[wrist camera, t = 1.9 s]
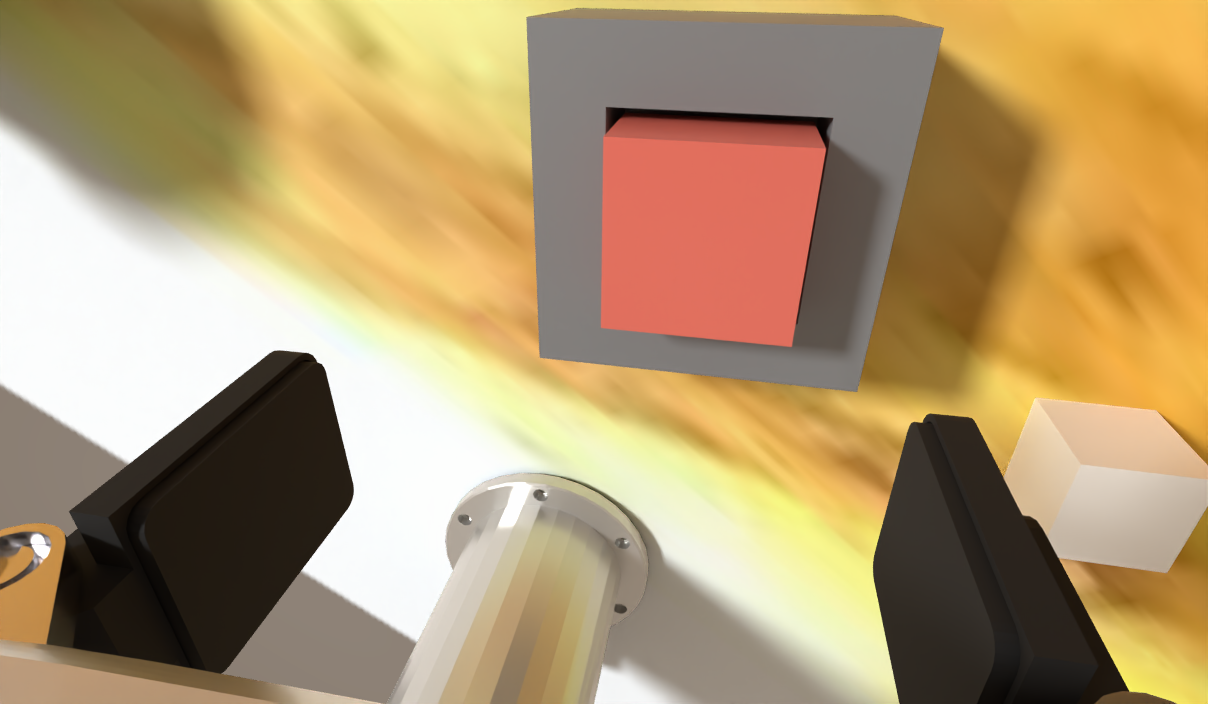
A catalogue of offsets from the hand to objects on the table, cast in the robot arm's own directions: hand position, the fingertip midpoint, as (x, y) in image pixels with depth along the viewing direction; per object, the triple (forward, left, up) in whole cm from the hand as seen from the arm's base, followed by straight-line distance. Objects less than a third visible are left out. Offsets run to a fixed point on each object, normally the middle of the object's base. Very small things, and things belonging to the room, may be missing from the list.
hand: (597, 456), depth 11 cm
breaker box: (0, -1, -21) cm, 21 cm away
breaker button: (0, -1, -15) cm, 15 cm away
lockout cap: (-12, -19, -21) cm, 31 cm away
